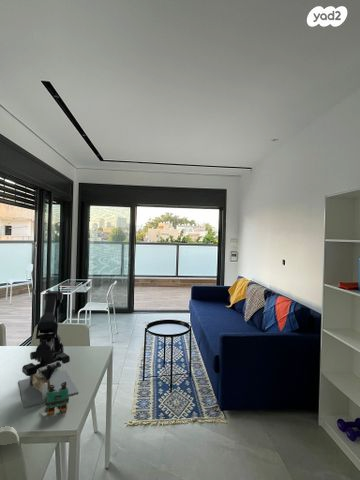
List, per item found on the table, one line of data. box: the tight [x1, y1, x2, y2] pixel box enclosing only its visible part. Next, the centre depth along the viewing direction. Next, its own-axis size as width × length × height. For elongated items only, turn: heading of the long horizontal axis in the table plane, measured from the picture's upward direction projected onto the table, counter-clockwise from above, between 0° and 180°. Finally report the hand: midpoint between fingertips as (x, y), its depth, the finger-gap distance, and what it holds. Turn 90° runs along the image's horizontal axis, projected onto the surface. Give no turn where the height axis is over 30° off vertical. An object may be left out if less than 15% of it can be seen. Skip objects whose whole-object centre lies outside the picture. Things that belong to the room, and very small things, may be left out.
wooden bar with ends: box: [29, 372, 50, 391], centre depth 127 cm, size 16×2×6 cm, turn 50°
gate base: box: [18, 369, 79, 409], centre depth 131 cm, size 24×21×7 cm
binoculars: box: [45, 382, 70, 415], centre depth 116 cm, size 9×11×10 cm
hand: (46, 382), depth 128 cm, fingers closed
